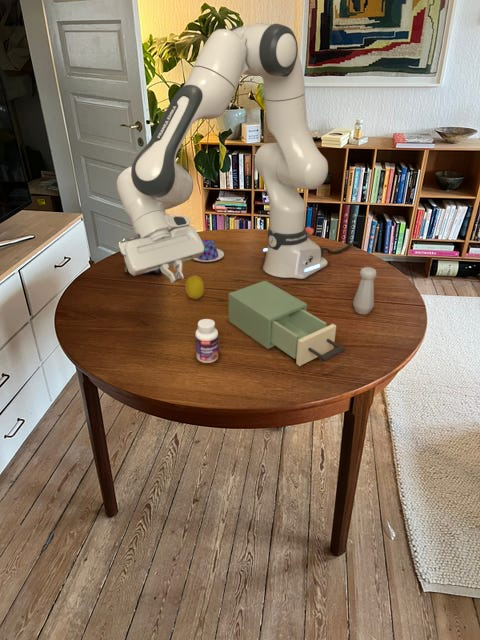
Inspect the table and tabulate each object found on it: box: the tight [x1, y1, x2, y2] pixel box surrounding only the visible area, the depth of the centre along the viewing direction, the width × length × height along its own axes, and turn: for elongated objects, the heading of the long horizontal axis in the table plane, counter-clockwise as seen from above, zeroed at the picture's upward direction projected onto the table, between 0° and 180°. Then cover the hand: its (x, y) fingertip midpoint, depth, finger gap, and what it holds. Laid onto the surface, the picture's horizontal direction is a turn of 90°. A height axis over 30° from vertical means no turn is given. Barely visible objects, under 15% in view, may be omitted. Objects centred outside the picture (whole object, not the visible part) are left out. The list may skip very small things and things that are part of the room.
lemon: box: [184, 274, 205, 301], centre depth 135 cm, size 6×6×8 cm
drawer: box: [270, 309, 347, 367], centre depth 112 cm, size 21×11×7 cm, turn 37°
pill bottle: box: [194, 318, 220, 364], centre depth 110 cm, size 5×5×10 cm
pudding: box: [192, 239, 225, 263], centre depth 162 cm, size 12×12×5 cm
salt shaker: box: [352, 266, 378, 315], centre depth 128 cm, size 6×6×13 cm
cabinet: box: [227, 280, 308, 350], centre depth 122 cm, size 17×13×9 cm
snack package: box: [123, 265, 161, 274], centre depth 152 cm, size 12×6×12 cm
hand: (178, 280), depth 112 cm, fingers closed
